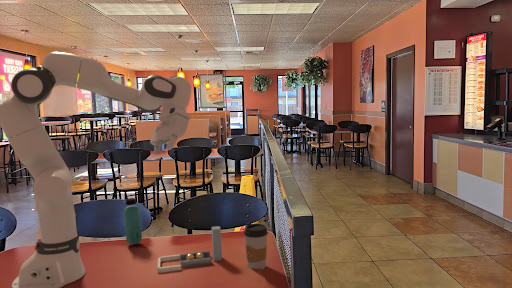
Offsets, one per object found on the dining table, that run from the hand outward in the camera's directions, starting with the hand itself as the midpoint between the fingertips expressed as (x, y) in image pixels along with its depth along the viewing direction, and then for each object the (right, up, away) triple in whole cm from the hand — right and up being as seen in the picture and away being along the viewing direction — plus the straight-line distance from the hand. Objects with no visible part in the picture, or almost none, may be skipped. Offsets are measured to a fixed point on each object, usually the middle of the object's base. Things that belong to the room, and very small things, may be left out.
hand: (162, 151), depth 137 cm
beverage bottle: (-18, -40, +26) cm, 51 cm away
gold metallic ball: (+9, -41, +5) cm, 42 cm away
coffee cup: (+33, -42, +1) cm, 53 cm away
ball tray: (+2, -42, +3) cm, 42 cm away
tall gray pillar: (+19, -41, +7) cm, 46 cm away
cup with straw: (-49, -42, +16) cm, 66 cm away
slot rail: (+11, -41, +5) cm, 43 cm away
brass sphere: (+12, -40, +6) cm, 43 cm away
